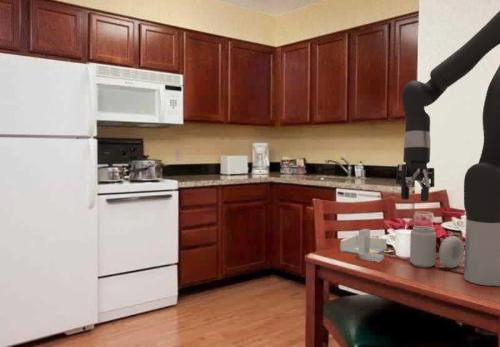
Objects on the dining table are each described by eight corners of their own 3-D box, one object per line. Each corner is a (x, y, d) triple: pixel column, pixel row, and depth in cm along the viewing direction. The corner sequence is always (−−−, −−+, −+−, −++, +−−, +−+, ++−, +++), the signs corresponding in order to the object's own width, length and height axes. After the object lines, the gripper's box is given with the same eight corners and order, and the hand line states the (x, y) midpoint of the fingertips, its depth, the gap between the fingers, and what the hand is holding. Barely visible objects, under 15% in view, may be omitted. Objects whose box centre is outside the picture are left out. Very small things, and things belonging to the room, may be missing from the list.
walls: (386, 249, 153) (386, 238, 153) (373, 256, 144) (373, 245, 143) (354, 244, 161) (355, 234, 160) (340, 251, 151) (340, 240, 151)
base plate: (385, 250, 152) (385, 248, 152) (373, 256, 144) (373, 255, 144) (356, 245, 159) (356, 244, 159) (343, 251, 150) (343, 250, 150)
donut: (446, 271, 127) (447, 239, 126) (436, 269, 130) (436, 236, 129) (465, 266, 132) (466, 235, 131) (455, 264, 135) (456, 233, 134)
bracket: (383, 259, 141) (384, 231, 140) (378, 262, 137) (379, 233, 136) (363, 255, 145) (364, 228, 144) (358, 258, 141) (358, 230, 141)
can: (437, 268, 130) (438, 230, 129) (412, 267, 131) (412, 229, 130) (432, 262, 137) (433, 225, 136) (408, 261, 139) (408, 224, 138)
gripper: (411, 143, 122) (409, 199, 121) (442, 148, 129) (441, 201, 128) (390, 145, 129) (388, 198, 128) (422, 150, 135) (420, 201, 135)
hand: (415, 200), depth 128 cm, fingers open, 8 cm apart
